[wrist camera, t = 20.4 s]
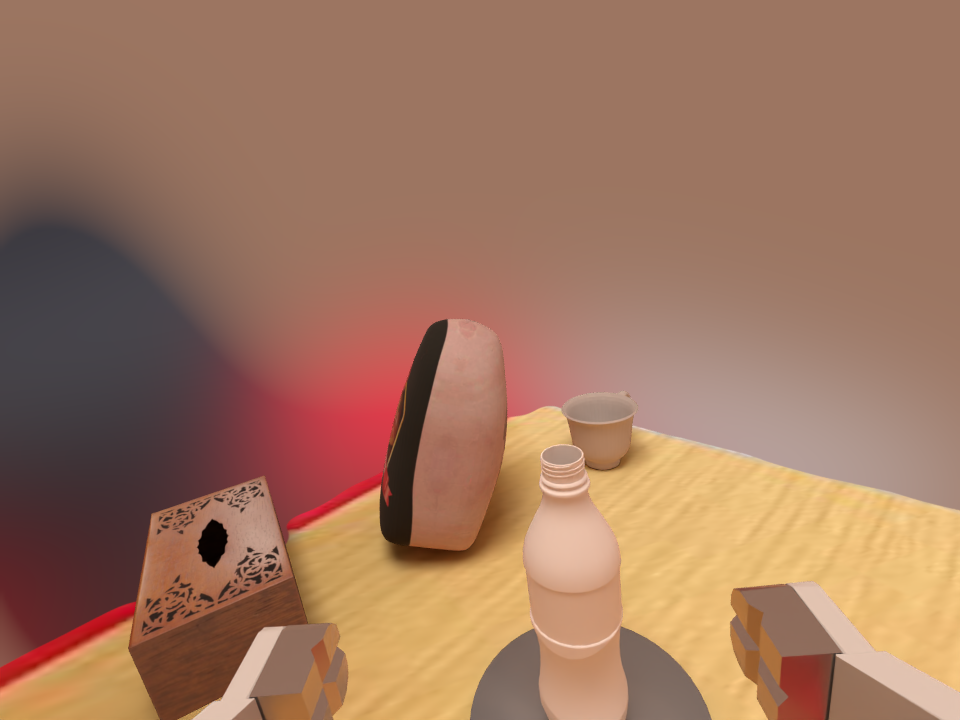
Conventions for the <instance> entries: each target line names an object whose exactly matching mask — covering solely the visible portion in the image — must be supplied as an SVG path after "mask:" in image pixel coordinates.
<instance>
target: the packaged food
mask: <svg viewBox="0 0 960 720" xmlns="http://www.w3.org/2000/svg"><path fill="white" fill-rule="evenodd" d="M506 430H507V395H506V381H505V370H504V358H503V351H502V346H501V343H500V340H499V338H498V336H497V335H496V334H495V333H494V332H493V331H492V330H491V329H489V328H488V327H486V326H483V325H482V324H480V323H478V322H475V321H471V320H464V319H447V320H442V321H438V322H436V323H434V324H432V325H431V326H430V327H429V328H428V330H427V332H426V334H425V336H424V338H423V340H422V343H421V344H420V347H419V349H418V351H417V354H416V356H415V359H414V361H413V364H412V367H411V369H410V372H409V375H408V377H407V380H406V383H405V386H404V389H403V391H402V394H401V398H400V401H399V404H398V407H397V411H396V415H395V419H394V423H393V427H392V432H391V436H390V441H389V445H388V450H387V455H386V460H385V466H384V471H383V477H382V484H381V494H380V526H381V531H382V534H383V536H384V537H385V539H386V540H388V541H389V542H392V543H394V544H398V545H405V546H416V547H426V548H434V549H444V550H455V551H462V550H466V549H468V548H469V547H470V546H471V545H472V544H473V542H474V541H475V539H476V537H477V535H478V532H479V530H480V527H481V525H482V522H483V519H484V517H485V514H486V511H487V508H488V505H489V503H490V500H491V497H492V494H493V491H494V488H495V485H496V482H497V479H498V475H499V472H500V468H501V464H502V459H503V454H504V449H505V441H506Z"/></svg>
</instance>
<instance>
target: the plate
mask: <svg viewBox="0 0 960 720" xmlns="http://www.w3.org/2000/svg"><path fill="white" fill-rule="evenodd" d="M619 645H620V657H621V662H622V667H623V670H624V672H625V676H626V680H627V686H628V708H627V714H626V719H625V720H712V719H711V717H710V714H709V711H708V708H707V706H706V704H705V702H704V700H703V698H702V696H701V694H700V692H699V690H698V689H697V687H696V686H695V684H694V683H693V681H692V679H691V678H690V677H689V675H688V674H687V673H686V672H685V671H684V669H683V668H682V667H681V666H680V665H679V664H678V663H677V662H676V661H675V660H674V659H673V658H672V657H671V656H670V655H669V654H668V653H667V652H665V651H664V650H663V649H661V648H660V647H659V646H658V645H656V644H655V643H653V642H652V641H650V640H648V639H647V638H645V637H643V636H641V635H639V634H637V633H635V632H634V631H631V630H629V629H626V628H623V627H621V628H620V640H619ZM540 666H541V662H540V645H539V641H538V637H537V634H536V632H535V630H534V629H532V630H530V631H528V632H526V633H524V634H522V635H520V636H519V637H518V638H516V639H515V640H513V641H512V642H510V643H509V644H508V645H507V646H506V647H505V648H504V649H502V650H501V651H500V653H499V654H498V655H497V656H496V657H495V658H494V659H493V661H492V662H491V663H490V665H489V666H488V668H487V669H486V671H485V673H484V675H483V676H482V678H481V680H480V682H479V685H478V688H477V690H476V693H475V696H474V700H473V704H472V709H471V718H470V720H549V719H548V717H547V715H546V712H545V710H544V708H543V706H542V703H541V699H540V691H539V676H540Z"/></svg>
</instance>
